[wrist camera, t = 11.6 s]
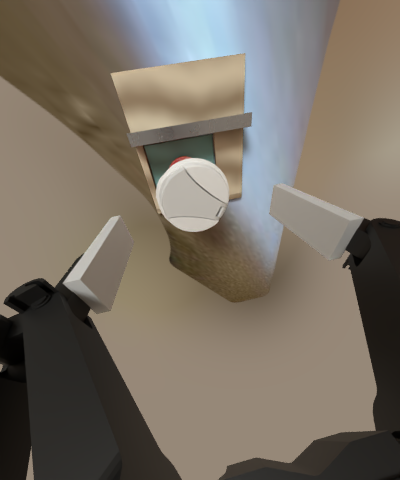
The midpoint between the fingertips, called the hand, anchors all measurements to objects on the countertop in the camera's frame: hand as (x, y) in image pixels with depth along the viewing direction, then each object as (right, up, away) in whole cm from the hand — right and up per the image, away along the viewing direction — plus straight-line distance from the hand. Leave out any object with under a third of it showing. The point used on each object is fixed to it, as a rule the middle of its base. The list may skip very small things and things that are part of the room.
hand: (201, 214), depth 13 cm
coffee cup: (-3, +10, +15) cm, 18 cm away
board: (-2, +14, +13) cm, 19 cm away
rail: (-2, +15, +11) cm, 19 cm away
